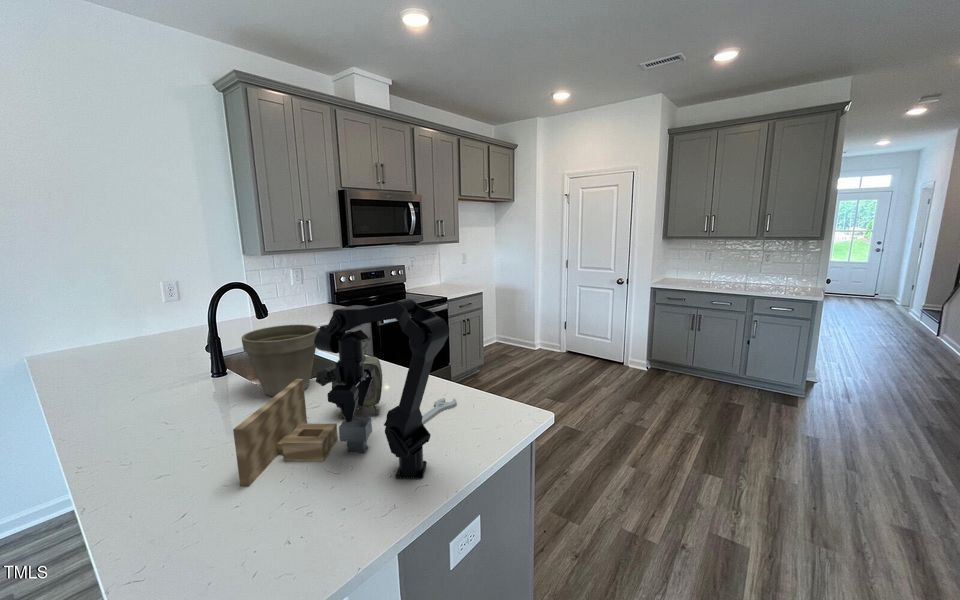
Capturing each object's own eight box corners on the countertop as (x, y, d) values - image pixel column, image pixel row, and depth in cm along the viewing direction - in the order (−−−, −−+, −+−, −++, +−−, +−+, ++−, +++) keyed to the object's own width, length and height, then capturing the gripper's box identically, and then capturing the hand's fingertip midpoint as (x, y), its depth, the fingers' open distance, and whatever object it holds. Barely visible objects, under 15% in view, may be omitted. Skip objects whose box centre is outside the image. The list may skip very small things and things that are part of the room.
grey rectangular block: (367, 455, 102) (365, 427, 101) (340, 455, 102) (338, 427, 101) (372, 445, 107) (371, 417, 106) (347, 445, 107) (345, 417, 106)
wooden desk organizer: (305, 486, 90) (300, 429, 88) (240, 486, 90) (233, 429, 88) (349, 422, 120) (346, 378, 117) (300, 422, 120) (296, 378, 117)
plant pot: (252, 382, 152) (246, 327, 148) (321, 372, 162) (317, 320, 158) (243, 408, 130) (236, 344, 126) (324, 395, 139) (319, 336, 136)
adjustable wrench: (407, 438, 112) (407, 432, 111) (390, 432, 115) (390, 426, 115) (459, 405, 132) (459, 400, 132) (444, 400, 136) (444, 395, 135)
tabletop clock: (334, 421, 121) (328, 342, 116) (338, 408, 130) (333, 334, 125) (383, 416, 124) (379, 339, 119) (384, 404, 132) (380, 331, 128)
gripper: (333, 345, 110) (337, 398, 112) (302, 368, 91) (308, 431, 94) (373, 345, 109) (376, 398, 112) (350, 368, 91) (355, 431, 94)
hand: (355, 413), depth 103 cm, fingers open, 9 cm apart
